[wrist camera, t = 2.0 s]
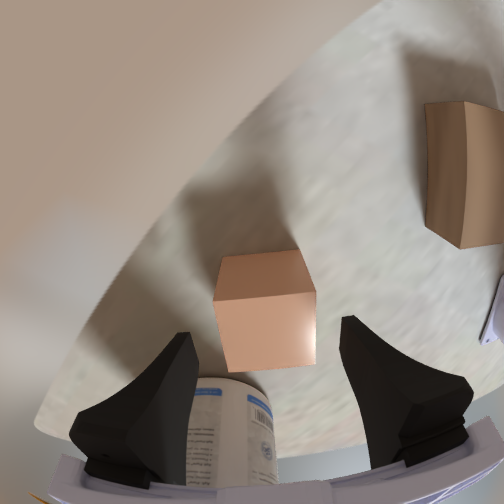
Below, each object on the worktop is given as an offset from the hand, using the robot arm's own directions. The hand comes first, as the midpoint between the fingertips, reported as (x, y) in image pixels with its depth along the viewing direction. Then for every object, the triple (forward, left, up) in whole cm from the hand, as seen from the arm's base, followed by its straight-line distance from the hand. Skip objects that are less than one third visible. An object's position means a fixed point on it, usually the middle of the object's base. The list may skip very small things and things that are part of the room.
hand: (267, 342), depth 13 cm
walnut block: (-15, -7, -5) cm, 17 cm away
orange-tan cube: (0, 0, -6) cm, 6 cm away
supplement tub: (+5, +12, -6) cm, 14 cm away
